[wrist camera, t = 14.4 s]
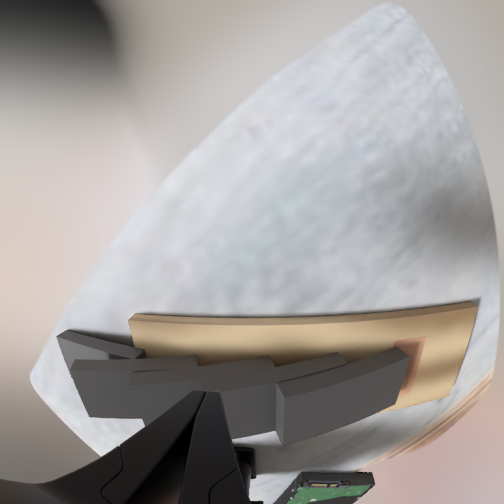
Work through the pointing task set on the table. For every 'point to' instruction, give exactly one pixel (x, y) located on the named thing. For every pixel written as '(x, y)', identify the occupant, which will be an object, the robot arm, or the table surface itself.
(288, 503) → the disk drive
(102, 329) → the table surface
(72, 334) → the domino
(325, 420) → the domino
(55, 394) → the table surface
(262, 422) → the domino
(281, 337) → the board
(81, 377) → the domino
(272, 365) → the domino
